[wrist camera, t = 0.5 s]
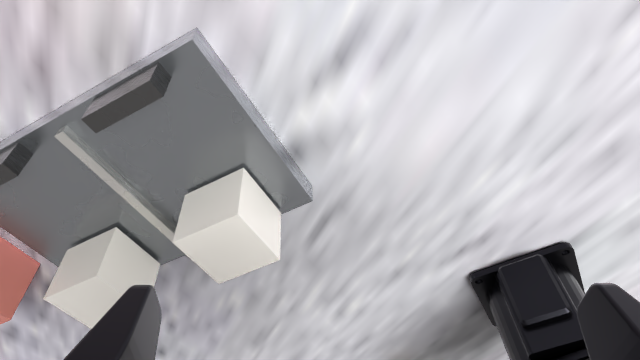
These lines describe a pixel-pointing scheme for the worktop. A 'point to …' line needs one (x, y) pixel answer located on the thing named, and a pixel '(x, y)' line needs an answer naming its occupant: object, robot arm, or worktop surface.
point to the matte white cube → (99, 275)
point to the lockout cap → (13, 278)
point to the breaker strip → (139, 155)
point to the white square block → (229, 227)
